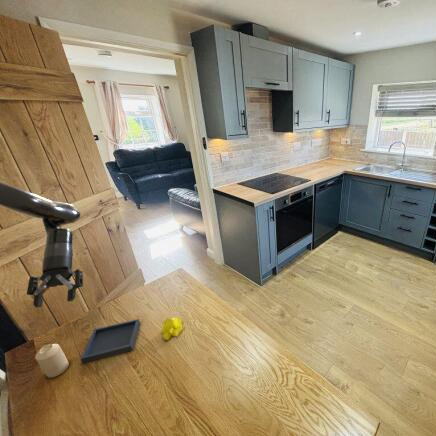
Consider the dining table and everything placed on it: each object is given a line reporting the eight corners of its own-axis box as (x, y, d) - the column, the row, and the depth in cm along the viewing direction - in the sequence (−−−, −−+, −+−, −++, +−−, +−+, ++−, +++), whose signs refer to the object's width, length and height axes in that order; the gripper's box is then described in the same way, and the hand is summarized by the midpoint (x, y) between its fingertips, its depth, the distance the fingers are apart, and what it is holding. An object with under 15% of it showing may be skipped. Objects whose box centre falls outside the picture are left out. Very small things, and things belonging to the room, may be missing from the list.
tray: (82, 363, 79) (80, 359, 78) (96, 333, 90) (94, 328, 89) (132, 350, 84) (131, 345, 83) (140, 323, 95) (138, 318, 94)
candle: (43, 372, 76) (29, 351, 72) (64, 358, 81) (52, 337, 77) (51, 381, 74) (37, 359, 70) (72, 366, 78) (60, 345, 74)
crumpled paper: (186, 324, 95) (182, 309, 91) (172, 341, 87) (168, 326, 84) (173, 321, 96) (169, 306, 93) (159, 337, 89) (154, 322, 85)
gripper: (24, 258, 79) (18, 309, 74) (76, 251, 84) (74, 298, 79) (40, 263, 86) (35, 309, 81) (87, 256, 91) (86, 299, 85)
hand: (54, 304), depth 80 cm, fingers open, 8 cm apart
